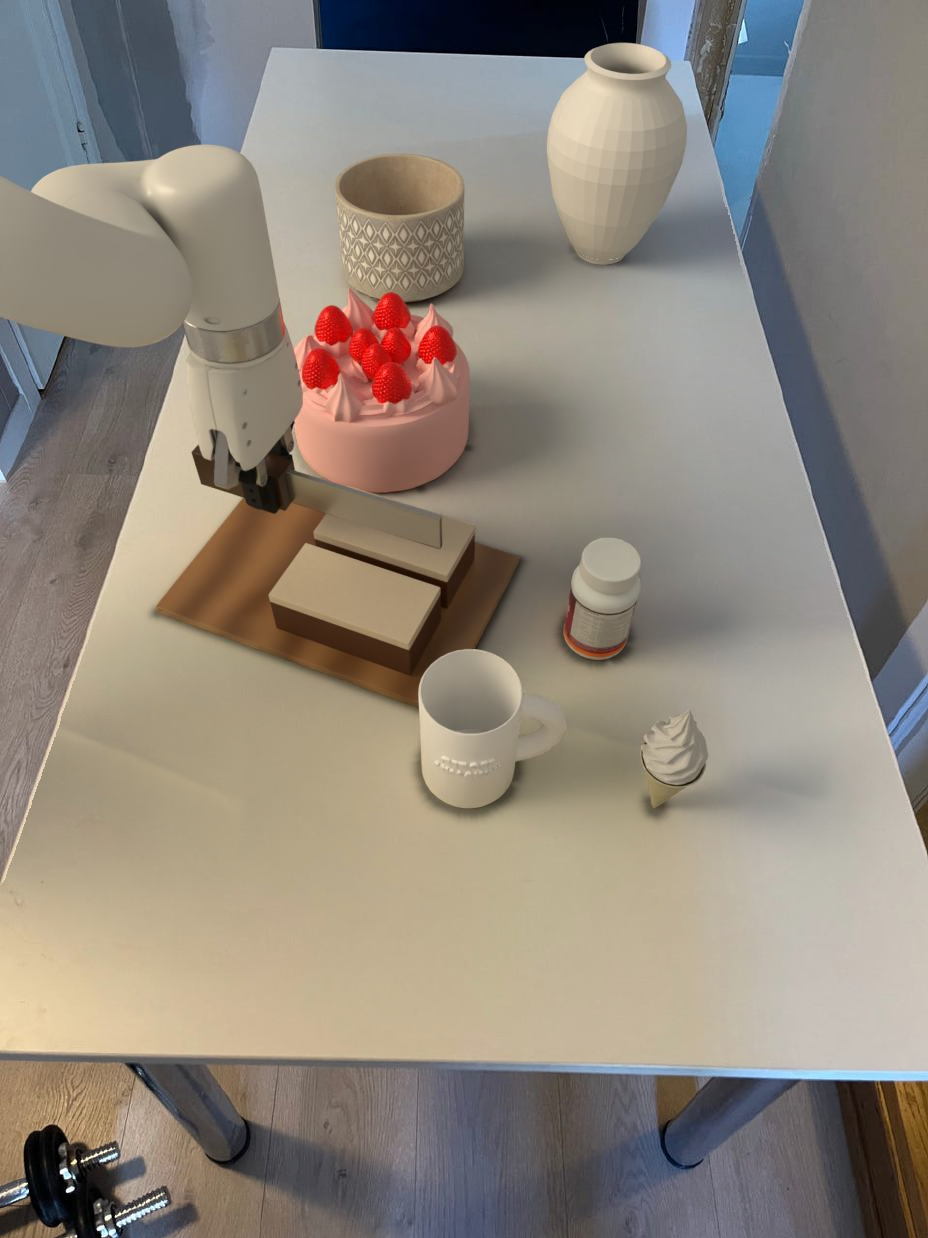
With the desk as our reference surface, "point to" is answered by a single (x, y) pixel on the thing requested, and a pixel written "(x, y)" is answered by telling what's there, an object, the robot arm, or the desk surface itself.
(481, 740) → the mug
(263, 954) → the desk surface
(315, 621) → the cake
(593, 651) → the pill bottle
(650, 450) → the desk surface
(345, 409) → the cake
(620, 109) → the vase
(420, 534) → the knife
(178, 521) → the desk surface
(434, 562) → the cake
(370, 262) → the planter
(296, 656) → the cake board
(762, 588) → the desk surface
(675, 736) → the ice cream cone
